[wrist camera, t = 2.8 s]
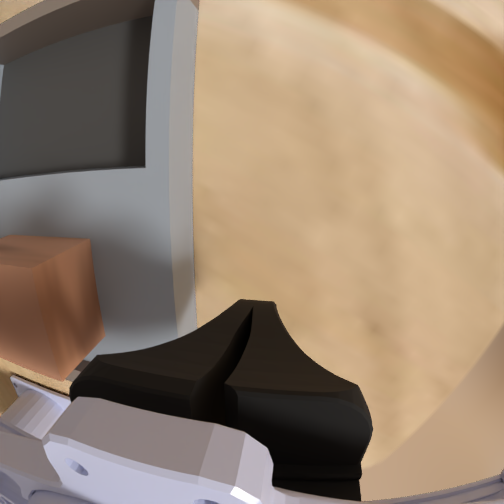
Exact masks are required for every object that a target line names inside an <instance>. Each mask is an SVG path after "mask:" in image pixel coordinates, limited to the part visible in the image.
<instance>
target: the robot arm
mask: <svg viewBox="0 0 504 504" xmlns="http://www.w3.org/2000/svg"><path fill="white" fill-rule="evenodd" d="M10 379H11V381H12V384H13V386H14V388H15V390H16V393H17V395H18V398H17V399H16V400H15V401H14V402H13V403H12V405H11V406H10V407H9V408H8V409H7V410H6V411H5V412H4V413H3V414H2V415H1V416H0V504H504V469H503V470H502V472H501V474H499V475H496V476H493V477H490V478H486V479H483V480H480V481H476V482H473V483H469V484H465V485H461V486H457V487H453V488H449V489H445V490H440V491H435V492H430V493H425V494H419V495H413V496H407V497H400V498H392V499H384V500H373V501H361V494H360V484H359V479H360V478H361V476H362V470H361V461H362V458H363V456H364V454H365V452H366V449H367V447H368V445H369V442H370V440H371V436H372V431H373V426H372V420H371V415H370V412H369V409H368V406H367V404H366V401H365V399H364V397H363V395H362V392H361V390H360V388H359V386H358V385H356V384H354V383H352V382H349V381H347V380H345V379H343V378H341V377H338V376H336V375H334V374H333V373H331V372H329V371H328V370H326V369H324V368H323V367H321V366H320V365H319V364H317V363H316V362H314V361H313V360H312V359H311V358H310V357H308V356H307V355H306V354H305V353H304V352H303V351H302V350H301V349H300V348H299V347H298V345H297V344H296V343H295V342H294V340H293V339H292V338H291V336H290V335H289V333H288V332H287V330H286V328H285V326H284V325H283V323H282V321H281V319H280V317H279V314H278V311H277V308H276V304H275V303H274V302H272V301H257V300H244V299H240V300H238V301H237V302H236V303H234V304H233V305H232V306H231V307H229V308H228V309H227V310H225V311H224V312H223V313H221V314H220V315H219V316H217V317H216V318H214V319H213V320H211V321H210V322H208V323H206V324H205V325H203V326H202V327H200V328H198V329H196V330H194V331H193V332H191V333H188V334H186V335H184V336H182V337H180V338H177V339H175V340H172V341H169V342H166V343H163V344H160V345H157V346H153V347H149V348H145V349H141V350H135V351H130V352H123V353H113V354H101V355H96V356H95V357H94V358H93V360H92V361H91V362H90V363H89V364H88V365H87V366H86V367H85V368H84V370H83V371H82V372H81V373H80V374H79V375H78V376H77V377H76V379H75V380H74V381H73V383H72V384H71V386H70V392H69V397H68V396H65V395H62V394H59V393H57V392H54V391H51V390H49V389H46V388H44V387H41V386H39V385H36V384H34V383H31V382H29V381H27V380H24V379H22V378H20V377H18V376H15V375H12V376H11V377H10Z"/></svg>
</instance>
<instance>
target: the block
mask: <svg viewBox="0 0 504 504" xmlns="http://www.w3.org/2000/svg"><path fill="white" fill-rule="evenodd" d="M105 336H106V335H105V331H104V326H103V321H102V316H101V310H100V305H99V299H98V293H97V287H96V280H95V274H94V266H93V259H92V251H91V242H90V239H86V238H66V237H46V236H26V235H8V236H5V237H3V238H0V357H1V358H3V359H5V360H8V361H10V362H12V363H15V364H17V365H19V366H22V367H24V368H27V369H29V370H32V371H34V372H37V373H40V374H42V375H45V376H48V377H50V378H53V379H56V380H59V381H62V382H63V381H64V380H65V379H66V378H67V376H68V375H69V374H70V373H71V372H72V371H73V370H74V369H75V368H76V367H77V366H78V365H79V363H80V362H81V361H82V360H83V359H84V358H85V357H86V356H87V355H88V354H89V353H90V352H91V351H92V350H93V349H94V348H95V346H96V345H97V344H98V343H99V342H100V341H101V340H102V339H103V338H104V337H105Z"/></svg>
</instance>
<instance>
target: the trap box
mask: <svg viewBox="0 0 504 504" xmlns="http://www.w3.org/2000/svg"><path fill="white" fill-rule="evenodd" d="M198 10H199V0H44V1H42V2H40V3H38V4H36V5H34V6H32V7H30V8H28V9H26V10H24V11H22V12H20V13H19V14H17V15H15V16H13V17H11V18H10V19H8V20H6V21H5V22H3V23H1V24H0V238H3V237H5V236H8V235H26V236H46V237H66V238H86V239H90V242H91V251H92V259H93V266H94V274H95V280H96V287H97V293H98V299H99V305H100V310H101V316H102V321H103V326H104V331H105V335H106V336H105V337H104V338H103V339H102V340H101V341H100V342H99V343H98V344H97V345H96V346H95V348H94V349H93V350H92V351H91V352H90V353H89V354H88V355H87V356H86V357H85V358H84V359H83V360H82V361H81V362H80V363H79V365H78V366H77V367H76V368H75V369H74V370H73V371H72V372H71V373H70V374H69V375H68V376H67V378H66V380H69V381H72V382H73V381H74V380H75V379H76V377H77V376H78V375H79V374H80V373H81V372H82V371H83V370H84V368H85V367H86V366H87V365H88V364H89V363H90V362H91V361H92V360H93V358H94V357H95V356H96V355H101V354H113V353H123V352H130V351H135V350H141V349H145V348H149V347H153V346H157V345H160V344H163V343H166V342H169V341H172V340H175V339H177V338H180V337H182V336H184V335H186V334H188V333H191V332H193V331H194V330H196V329H197V316H196V298H195V276H194V249H193V202H192V146H193V100H194V74H195V54H196V38H197V23H198Z"/></svg>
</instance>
